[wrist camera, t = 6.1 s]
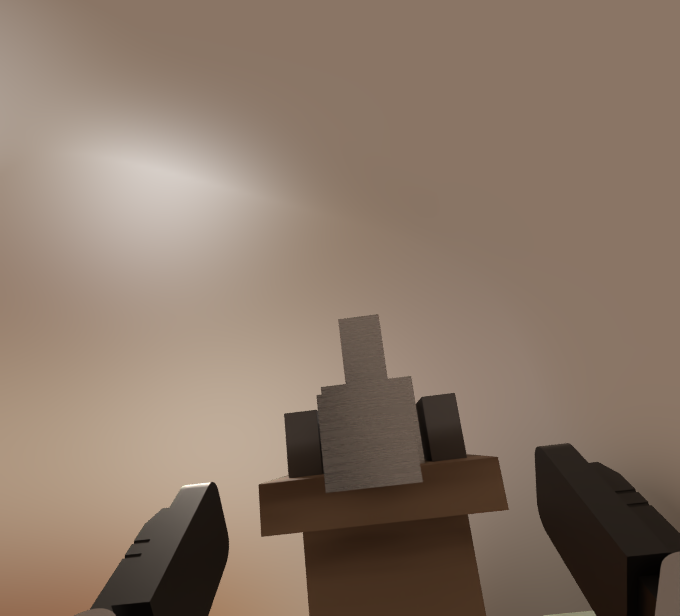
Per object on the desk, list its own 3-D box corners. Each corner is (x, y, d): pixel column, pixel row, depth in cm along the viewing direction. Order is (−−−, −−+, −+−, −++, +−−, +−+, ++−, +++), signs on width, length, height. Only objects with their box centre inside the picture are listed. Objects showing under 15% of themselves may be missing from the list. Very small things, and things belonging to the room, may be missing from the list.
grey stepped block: (463, 477, 11) (409, 180, 13) (286, 497, 11) (265, 201, 14) (415, 459, 26) (394, 321, 29) (340, 468, 26) (326, 330, 29)
